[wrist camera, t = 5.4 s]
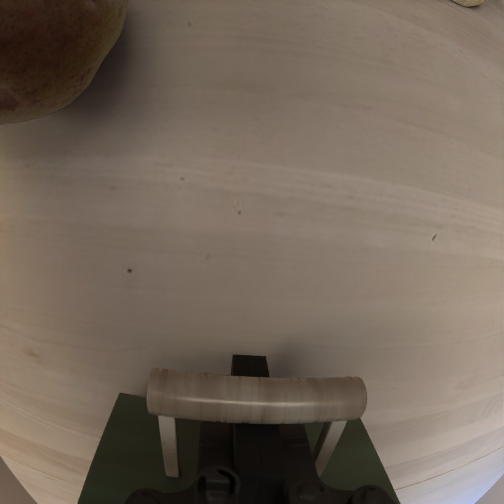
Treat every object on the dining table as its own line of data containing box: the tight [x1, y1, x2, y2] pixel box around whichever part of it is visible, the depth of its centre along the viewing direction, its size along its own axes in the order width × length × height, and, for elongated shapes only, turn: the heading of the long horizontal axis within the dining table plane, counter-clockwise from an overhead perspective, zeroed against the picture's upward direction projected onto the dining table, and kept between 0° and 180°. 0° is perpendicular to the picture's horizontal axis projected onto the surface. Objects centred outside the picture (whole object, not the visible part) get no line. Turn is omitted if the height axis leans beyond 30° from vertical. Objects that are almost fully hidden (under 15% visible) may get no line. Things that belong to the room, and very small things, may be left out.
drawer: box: [77, 368, 400, 504], centre depth 13 cm, size 20×13×8 cm, turn 174°
